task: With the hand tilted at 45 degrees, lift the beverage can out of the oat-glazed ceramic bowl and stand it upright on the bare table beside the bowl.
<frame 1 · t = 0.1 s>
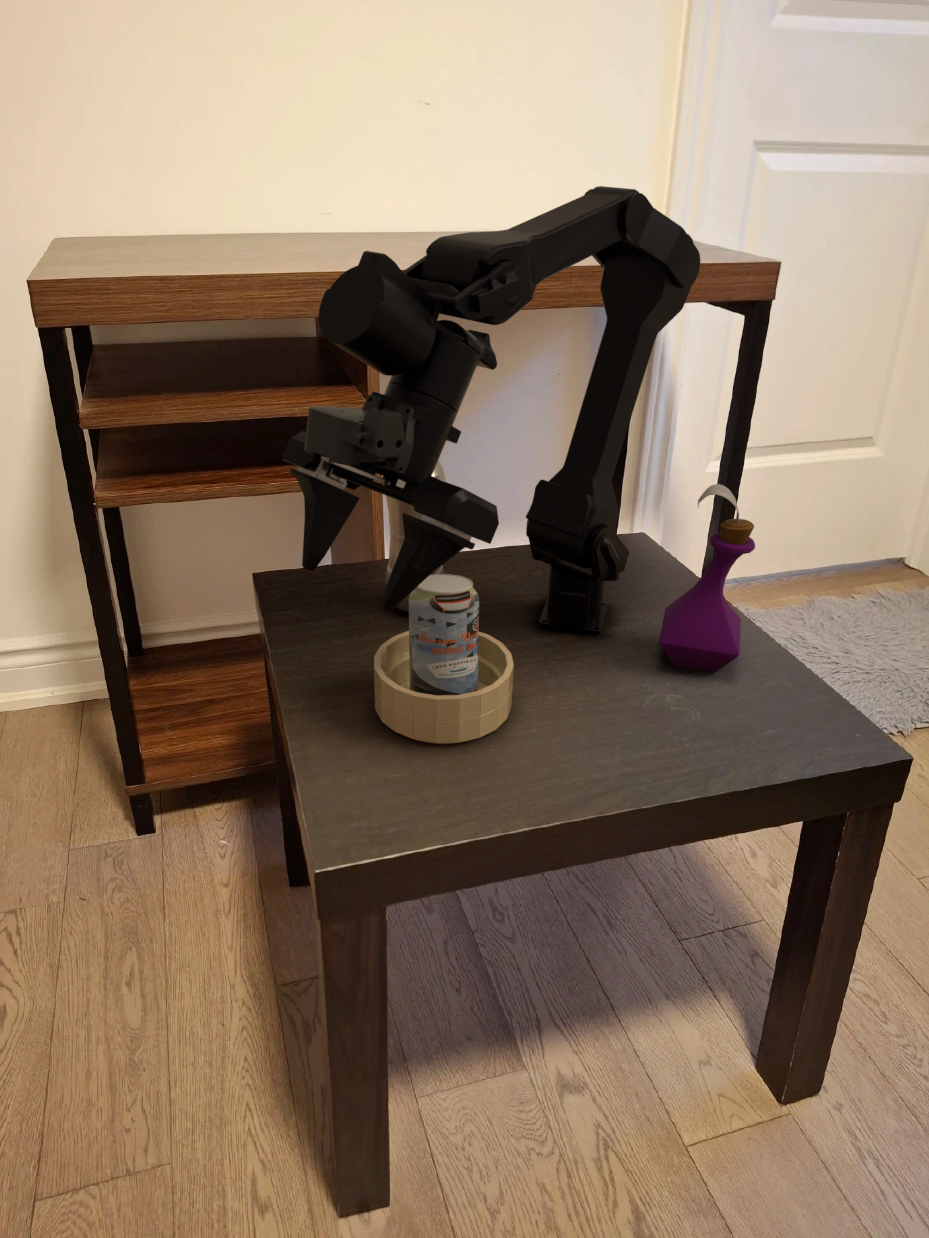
hand: (345, 588, 73), 15 cm above the table, tool tilted 35°, fingers open, 9 cm apart
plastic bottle: (415, 606, 102), on the table
bowl: (443, 707, 85), on the table
beverage can: (443, 704, 85), resting on bowl
purple corked potion flask: (695, 660, 94), on the table
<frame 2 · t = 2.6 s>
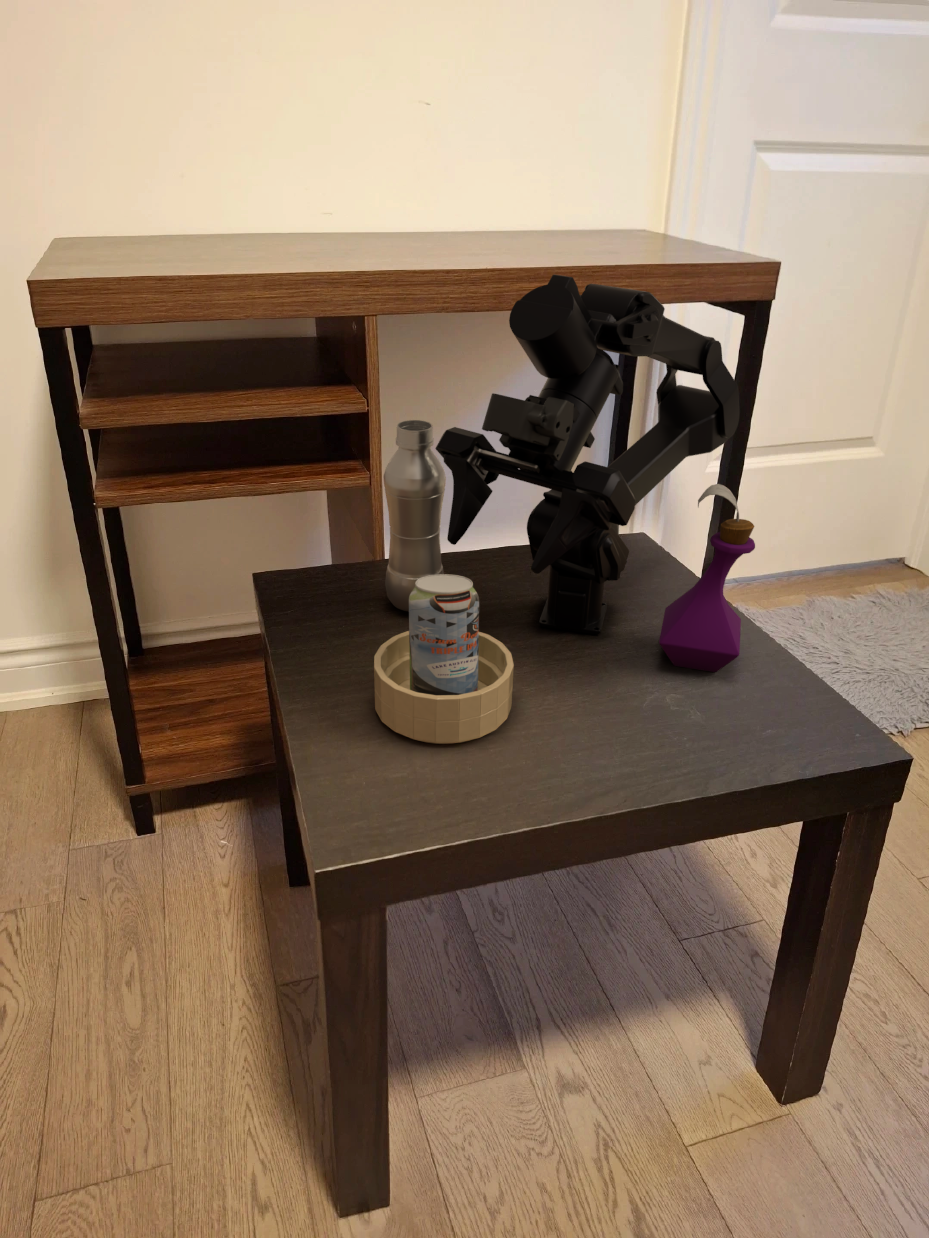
hand: (491, 556, 83), 13 cm above the table, tool tilted 45°, fingers open, 9 cm apart
nothing on the table moved.
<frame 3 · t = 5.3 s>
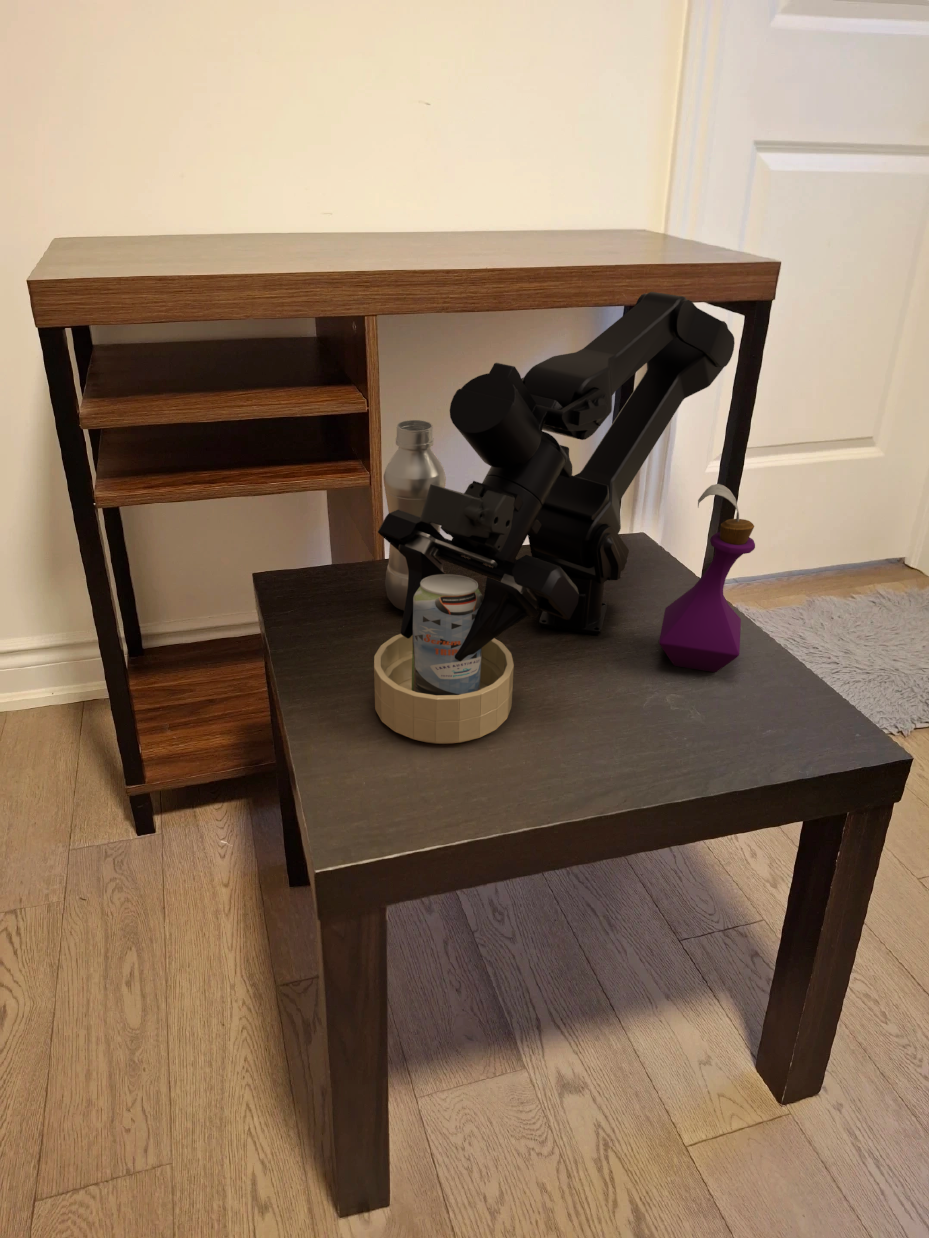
hand: (430, 648, 81), 7 cm above the table, tool tilted 45°, fingers closed on beverage can, 6 cm apart
beverage can: (443, 703, 85), resting on bowl, touching gripper
everything else where it was.
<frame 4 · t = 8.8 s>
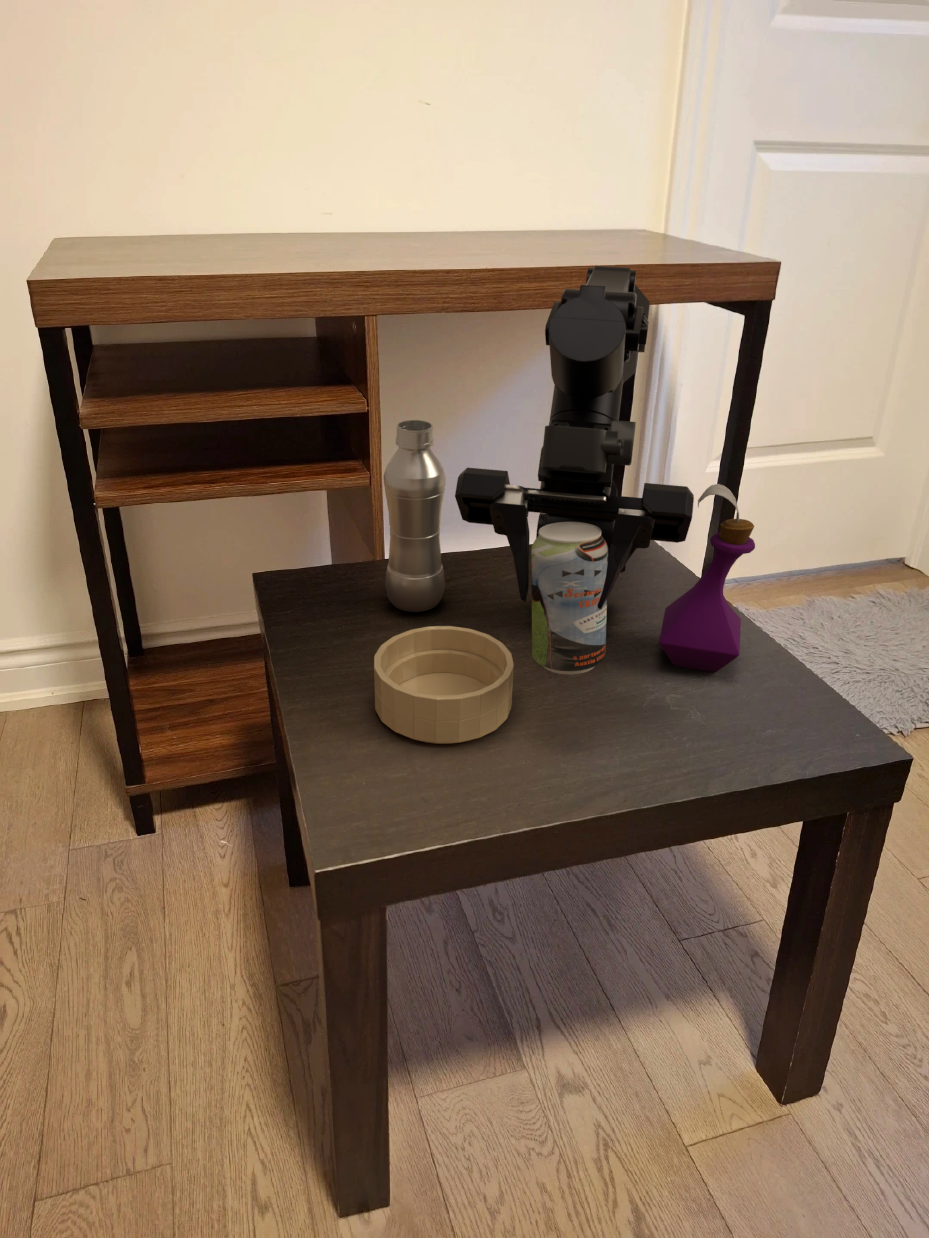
hand: (560, 605, 74), 13 cm above the table, tool tilted 45°, fingers closed on beverage can, 6 cm apart
beverage can: (561, 663, 79), point 7 cm above the table, touching gripper
everything else where it was.
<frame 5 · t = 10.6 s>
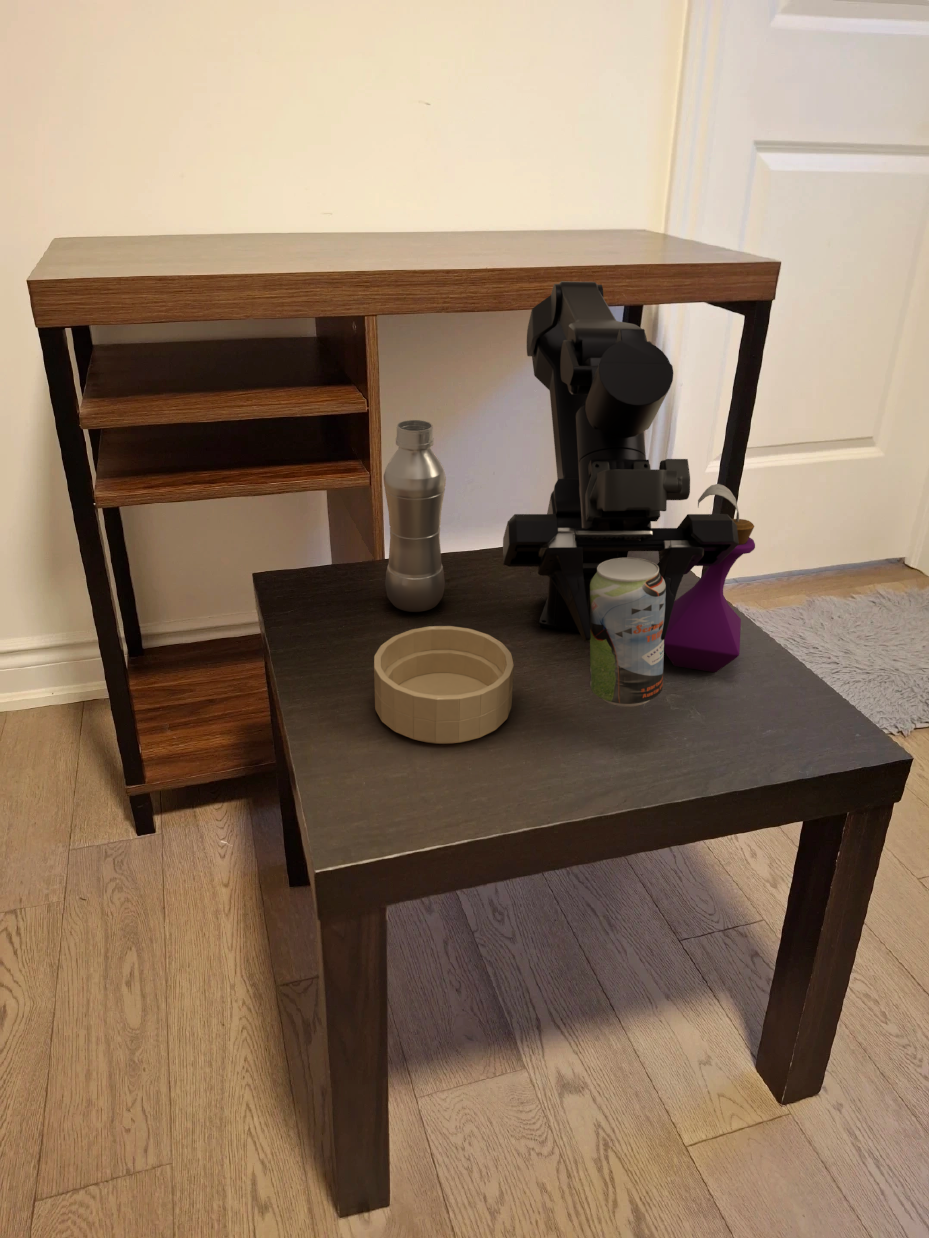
hand: (623, 640, 76), 10 cm above the table, tool tilted 45°, fingers closed on beverage can, 6 cm apart
beverage can: (617, 694, 81), point 4 cm above the table, touching gripper
everything else where it was.
when the fingers open (6 cm above the table, at t = 12.2 s): beverage can stays where it is, on the table.
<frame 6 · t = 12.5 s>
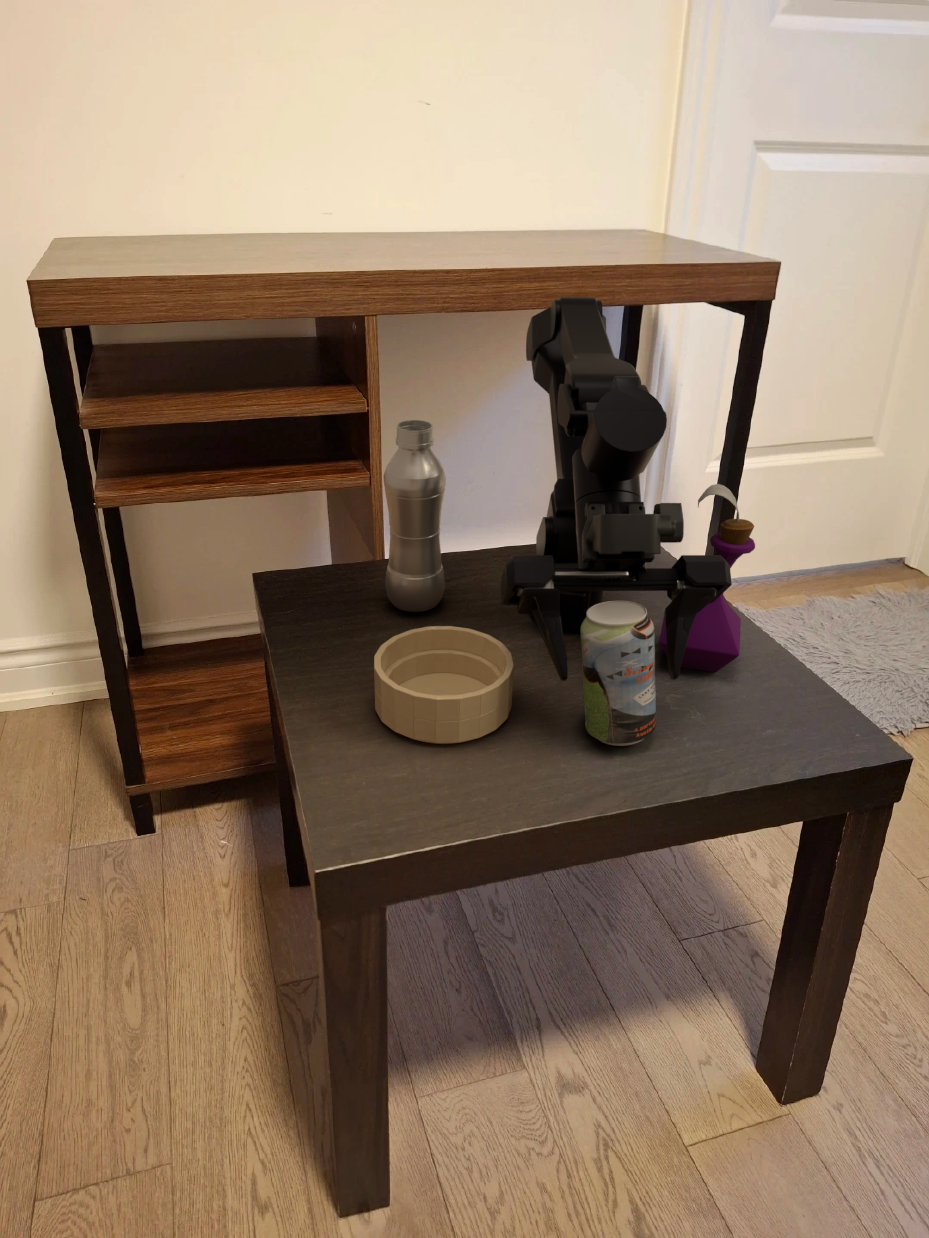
hand: (619, 679, 78), 7 cm above the table, tool tilted 45°, fingers open, 9 cm apart
beverage can: (612, 733, 82), on the table
everything else where it was.
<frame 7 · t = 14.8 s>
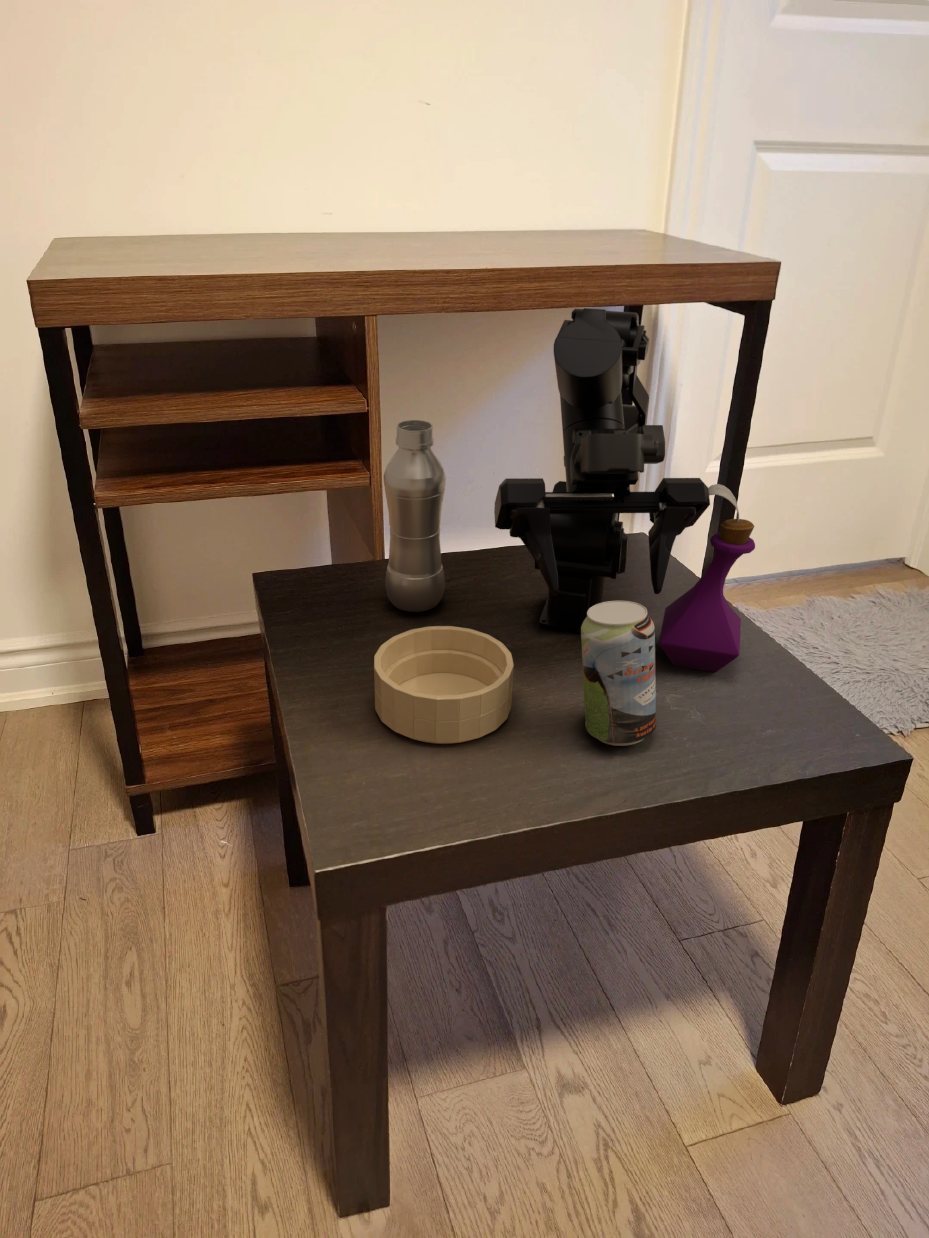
hand: (606, 593, 83), 10 cm above the table, tool tilted 45°, fingers open, 9 cm apart
nothing on the table moved.
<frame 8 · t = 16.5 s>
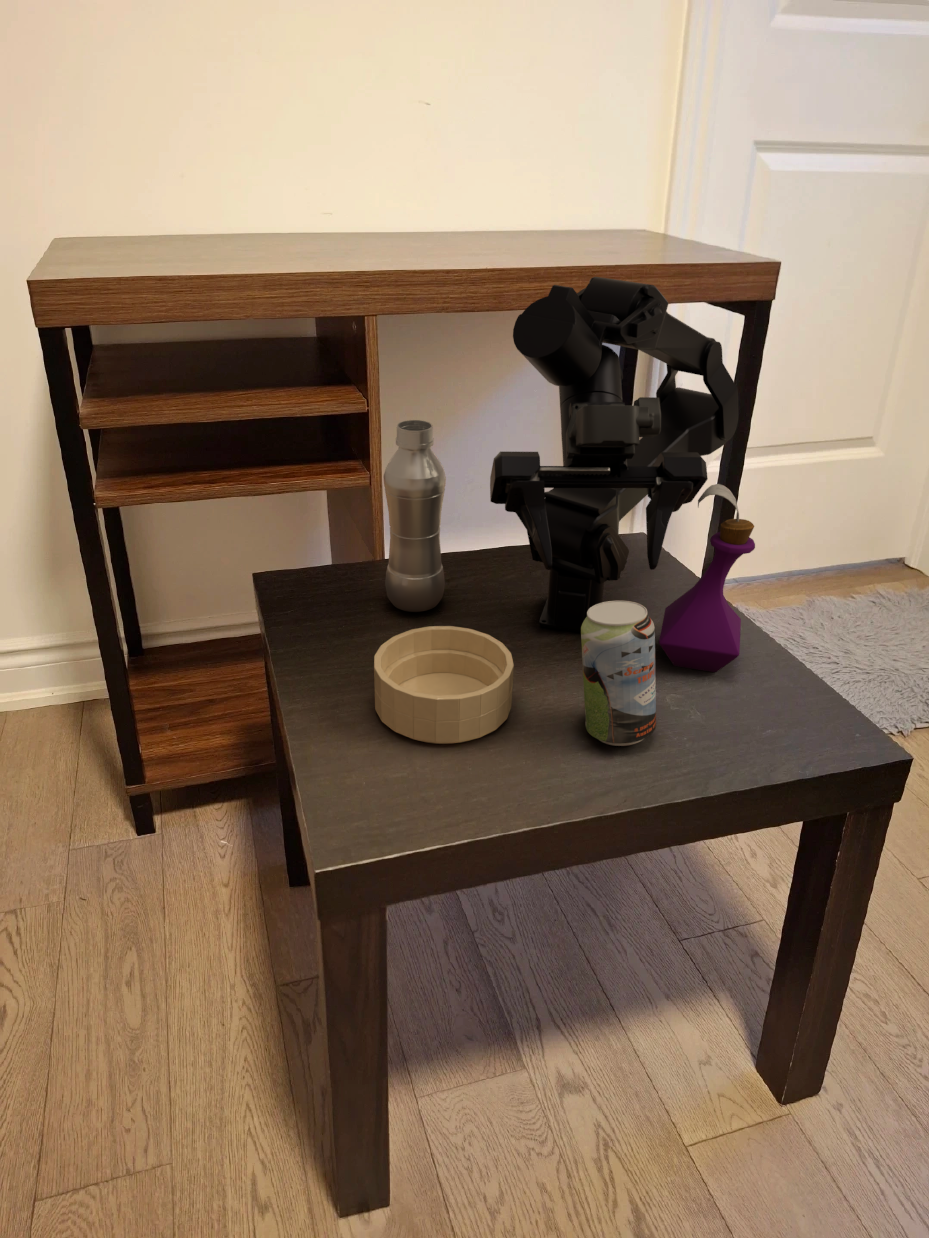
hand: (601, 568, 82), 13 cm above the table, tool tilted 45°, fingers open, 9 cm apart
nothing on the table moved.
at the end: beverage can 0.5 cm from the target spot, on the table; beverage can tilted 0°; beverage can touching table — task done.
